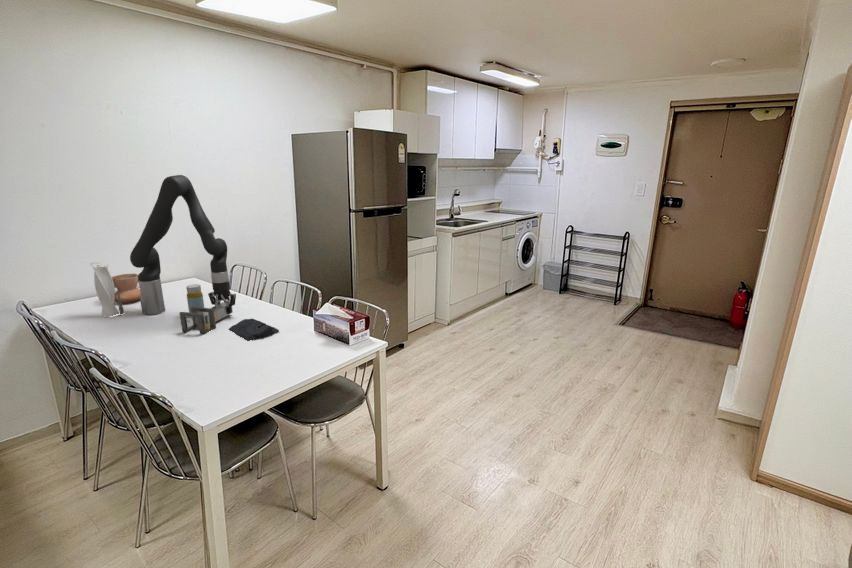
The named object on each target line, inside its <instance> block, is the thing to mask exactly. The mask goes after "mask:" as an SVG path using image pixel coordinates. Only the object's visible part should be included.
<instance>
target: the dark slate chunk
mask: <svg viewBox="0 0 852 568" xmlns="http://www.w3.org/2000/svg"><path fill="white" fill-rule="evenodd" d="M228 331H230V332H231V331H232V332H231V333H233V332H234V333H235V334H234V333H233V334H234V335H236V336H238V337H239V336H240V338H241V337H242V339H243V338H244V339H243V340H245V341H246V340H247V342H254V341H257V340H261V339H264V338H268V337H272V336H273V335H275V334H276V333H280V329H278V328H276V327H274V326H272V325H269V324H266V323H265V322H263V321H260V320H257V319H255V318H244V319H242V320H240V321H238V322H237V323H235V324H233V325H232V326H230V327H229V328H228ZM250 340H252V341H250ZM253 340H254V341H253Z"/></svg>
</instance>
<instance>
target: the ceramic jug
mask: <svg viewBox="0 0 852 568" xmlns="http://www.w3.org/2000/svg"><path fill="white" fill-rule="evenodd" d="M138 275H139V273H138V274H137V273H135V272H134V273H133V272H132V273H122V274H117V275H114V276H111V277H112V279H113V282H114V287H115V288H116V289H117V290H118V292H117V291H115V300H114V303H115V302H116V303H118V293H119V295H120V298H121V301H122V304H130V303H135V302H138V301H139V302H140V295H141V292H140V288H137V286H138V285H139V281H138Z"/></svg>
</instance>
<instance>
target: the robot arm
mask: <svg viewBox="0 0 852 568" xmlns="http://www.w3.org/2000/svg"><path fill="white" fill-rule="evenodd" d="M179 197H182V199H183V200H184V201H185V203H186V205H187V208H188V212H189V218H190V220H191V223H192V226H193V227H194V229H195V230H196V232H197V233H198V235H199V237H200V240H201V243H202V246H203V248H204V250H205V252H206V253H208V254H209V255H211V256H212V259H211V260H210V262H209V263H210V264H209V266H210V272H211V273H210V277H211V283H212V285H211V286H212V290H213V291H211V292H209V293H208V294H207V295H208V299H209V300H210V303H211V305H214V306H216V305H218V304H220V303H222V302H224V303H225V304H226V306H227V314H229V315H231V314H232V313H231V312H232V310H233V306H235V305H236V299H237V294H236V293H231V291H230V278H229V272H228V266H227V257H228V245H227V242H226V241H225V240H224V239H223V238H216V237H215V235H214V234H215V228H214V226H213V224H212V223H211V220H210V219H209V218H208V216H207V215H206V212H205V211H204V209H203V206H202V205H201V202H200V200H199V198H198V195H197V193H196V191H195V188H194V186H193V184H192V182H191V180H190V179H189V178H188V177H187V176H186V175H183V174H176V175H170V176H167V177H165V178H164V179H163V181H162V183H161V186H160V188H159V192H158V196H157V199H156V201H155V202H154V203H155V204H154V205H153V208H152V211H151V213H150V215H149V217H148V220H147V222H146V223H145V226H144V229H143V231H142V233H141V235H140V237H139V239H138V241H137V242H136V244H135V246H134V247H133V248H132V251H131V252H130V255H129V260H130V263H131V265H132V266H133V267H135V268H138V269H142V270H141V271H140V273H138V281H139V282H138V287H139V289H140V292H141V295H140V300H139V302H140V307H141V310H142V311H141V312H142V314H144V315H147V316H152V315H154V314H155V315H159V314H162V312H163V313H164V312H166V306H165V299H164V294H163V293H164V292H163V288H162V281H161V276H160V275H161V270H162V269H161V259H160V254H159V252H158V250H157V249H156V248H155V245H157V244H158V243H159V242H160V241H161V240H162V239H163V238H164V237H165V236H166V235H167V233H168V232H169V230H170V228H171V226H172V223H173V220H174V219H173V218H174V216H173V206H174V204H175V202H176V201H177V199H178V198H179ZM228 303H229V304H228ZM231 306H232V307H231Z"/></svg>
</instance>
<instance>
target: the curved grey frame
mask: <svg viewBox="0 0 852 568" xmlns="http://www.w3.org/2000/svg"><path fill="white" fill-rule="evenodd" d="M197 311H201V312H208V313H209V321H210V323H205V324H204V317H203V314H200V313H197ZM179 317H180V325H181V331H182V333H183V332H184V333H183V334H186V333H189V332H191V331H192V330H195V329H197V328H198V330H199V335H202V334H204V335H206V334H208V333H210V332H212V331H213V330H216V329H217V325H216V322H215V316H214V309H212V307H209V308H208V307H204V308H201V307H191V313H190V312H189V311H187V312H186V311H180V312H179ZM187 317H188V318H189V317H190V318H191V319H192V325H190V326H188V322H187V321H188V320H187ZM195 317H198V323H199V327H198V326H196V320H195ZM196 327H197V328H196ZM211 330H212V331H211ZM209 331H210V332H209ZM207 332H208V333H207Z"/></svg>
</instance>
